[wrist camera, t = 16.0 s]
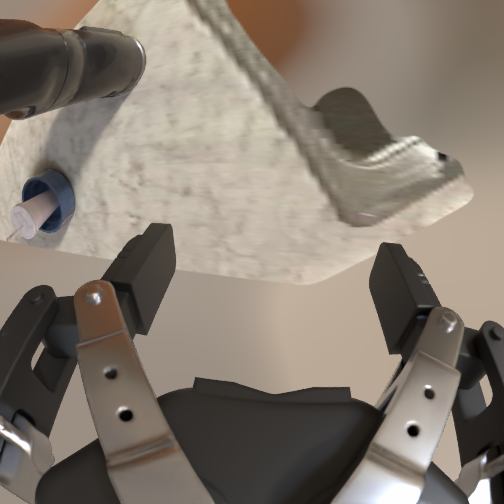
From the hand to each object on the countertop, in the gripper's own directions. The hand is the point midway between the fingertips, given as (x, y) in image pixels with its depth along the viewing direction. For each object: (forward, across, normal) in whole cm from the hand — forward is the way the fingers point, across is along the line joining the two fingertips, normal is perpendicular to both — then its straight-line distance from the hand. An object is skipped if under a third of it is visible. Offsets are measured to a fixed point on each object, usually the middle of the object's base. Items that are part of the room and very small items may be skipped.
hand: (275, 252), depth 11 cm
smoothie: (+30, +40, +12) cm, 51 cm away
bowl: (+30, +40, +11) cm, 51 cm away
